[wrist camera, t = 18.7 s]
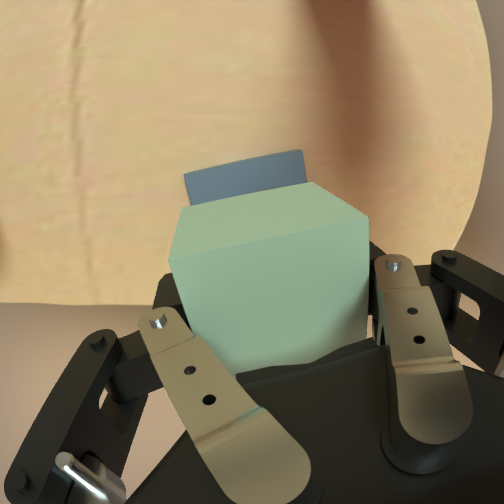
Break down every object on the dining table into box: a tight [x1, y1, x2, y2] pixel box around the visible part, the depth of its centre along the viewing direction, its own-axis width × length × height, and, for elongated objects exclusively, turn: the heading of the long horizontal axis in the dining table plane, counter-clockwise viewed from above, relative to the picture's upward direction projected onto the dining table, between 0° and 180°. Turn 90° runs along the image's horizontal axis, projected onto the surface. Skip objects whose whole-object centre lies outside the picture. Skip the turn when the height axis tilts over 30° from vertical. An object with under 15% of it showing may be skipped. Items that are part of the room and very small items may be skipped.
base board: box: [184, 150, 307, 206], centre depth 33 cm, size 12×12×1 cm
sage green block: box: [168, 182, 369, 380], centre depth 11 cm, size 6×6×5 cm
